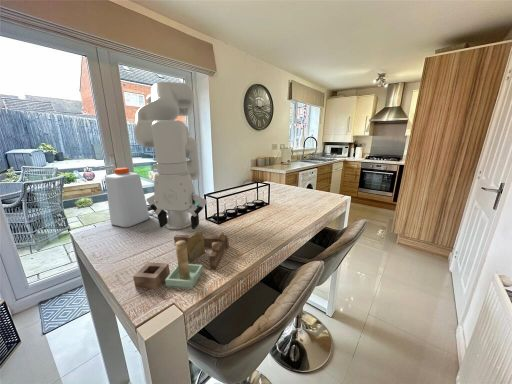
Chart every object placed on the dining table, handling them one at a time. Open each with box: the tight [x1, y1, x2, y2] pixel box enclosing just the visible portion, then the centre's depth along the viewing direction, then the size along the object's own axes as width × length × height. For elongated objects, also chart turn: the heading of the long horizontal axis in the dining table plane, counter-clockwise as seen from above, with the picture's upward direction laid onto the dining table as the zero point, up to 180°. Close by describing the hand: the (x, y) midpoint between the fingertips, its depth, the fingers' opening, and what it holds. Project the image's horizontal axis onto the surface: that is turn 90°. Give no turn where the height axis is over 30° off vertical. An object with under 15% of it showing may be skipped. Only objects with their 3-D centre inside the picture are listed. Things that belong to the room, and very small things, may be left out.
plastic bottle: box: [104, 167, 150, 228], centre depth 108 cm, size 15×15×28 cm
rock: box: [186, 231, 206, 264], centre depth 76 cm, size 11×9×10 cm
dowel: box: [174, 240, 190, 280], centre depth 64 cm, size 3×3×12 cm
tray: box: [164, 263, 204, 290], centre depth 65 cm, size 8×8×2 cm
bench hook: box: [173, 232, 230, 271], centre depth 78 cm, size 22×16×7 cm
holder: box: [133, 261, 171, 291], centre depth 65 cm, size 7×7×4 cm
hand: (179, 226), depth 62 cm, fingers open, 9 cm apart
